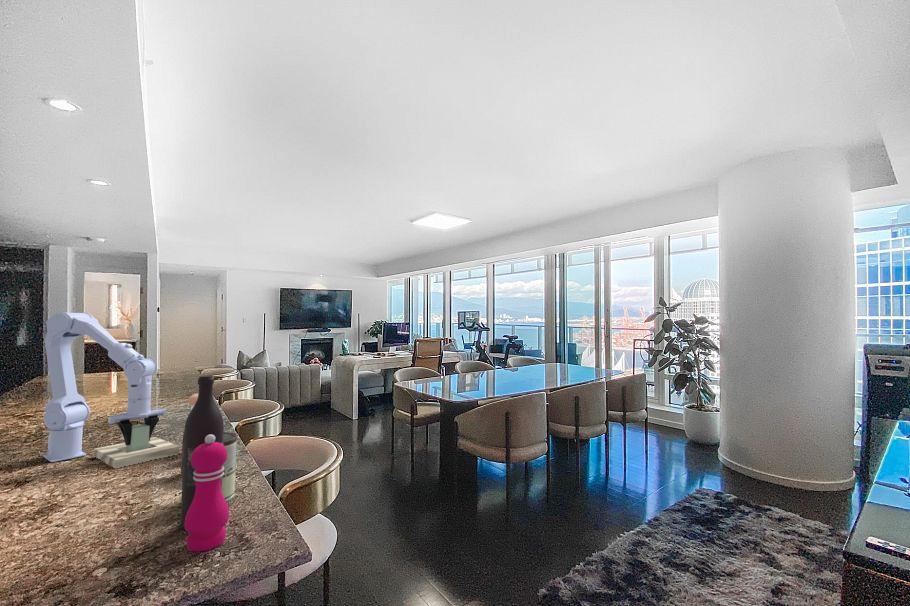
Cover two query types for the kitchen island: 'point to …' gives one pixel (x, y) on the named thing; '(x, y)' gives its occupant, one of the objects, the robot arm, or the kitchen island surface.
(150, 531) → the kitchen island surface
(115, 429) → the kitchen island surface
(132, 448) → the peg
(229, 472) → the coffee can
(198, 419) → the wine bottle
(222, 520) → the pepper mill
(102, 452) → the board with square hole
